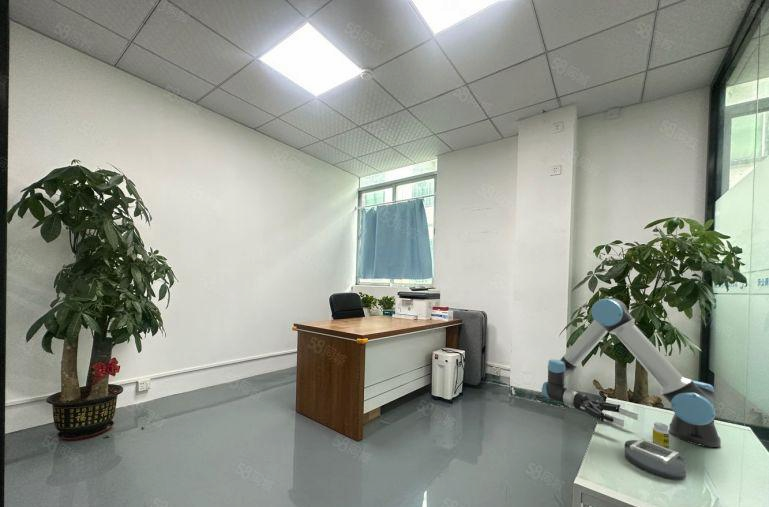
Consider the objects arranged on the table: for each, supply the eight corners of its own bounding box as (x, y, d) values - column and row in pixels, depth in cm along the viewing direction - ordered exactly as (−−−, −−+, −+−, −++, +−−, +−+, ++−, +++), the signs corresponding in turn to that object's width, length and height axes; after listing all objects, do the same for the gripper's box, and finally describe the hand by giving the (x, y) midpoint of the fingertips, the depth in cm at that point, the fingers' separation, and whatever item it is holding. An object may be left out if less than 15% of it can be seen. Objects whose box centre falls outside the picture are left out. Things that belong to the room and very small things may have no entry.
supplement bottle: (665, 451, 116) (665, 428, 117) (650, 444, 121) (650, 422, 121) (671, 448, 119) (671, 426, 119) (656, 442, 123) (656, 420, 123)
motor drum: (635, 447, 118) (635, 433, 119) (692, 471, 105) (692, 455, 105) (616, 458, 110) (616, 443, 110) (676, 486, 96) (676, 468, 97)
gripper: (589, 403, 153) (642, 422, 135) (561, 413, 139) (617, 436, 121) (589, 388, 153) (642, 405, 135) (562, 396, 140) (617, 416, 122)
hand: (630, 419), depth 128 cm, fingers open, 13 cm apart
